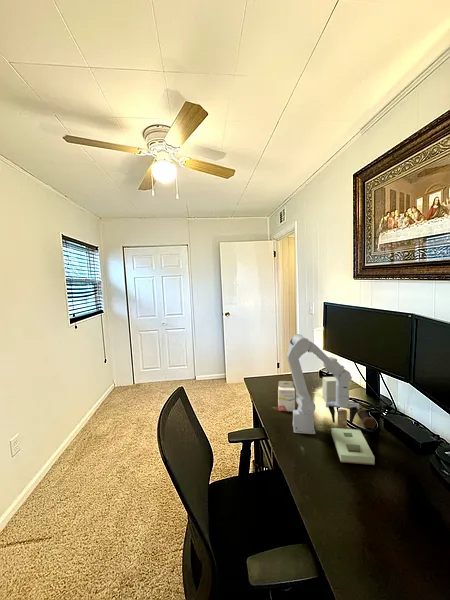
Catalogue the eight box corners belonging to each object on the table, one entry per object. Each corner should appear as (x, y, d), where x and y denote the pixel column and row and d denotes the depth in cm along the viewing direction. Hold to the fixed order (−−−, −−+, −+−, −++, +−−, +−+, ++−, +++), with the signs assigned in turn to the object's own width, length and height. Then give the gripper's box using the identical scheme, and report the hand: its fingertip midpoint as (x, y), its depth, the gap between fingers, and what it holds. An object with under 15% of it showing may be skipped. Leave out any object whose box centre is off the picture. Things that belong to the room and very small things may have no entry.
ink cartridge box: (278, 411, 157) (278, 384, 156) (278, 407, 162) (277, 380, 161) (295, 411, 156) (295, 384, 155) (294, 407, 161) (293, 381, 160)
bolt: (361, 417, 152) (371, 432, 137) (352, 412, 152) (361, 426, 137) (367, 408, 151) (378, 421, 136) (358, 402, 151) (367, 415, 137)
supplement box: (339, 403, 165) (339, 381, 163) (326, 403, 165) (326, 381, 164) (335, 397, 172) (335, 376, 171) (322, 397, 172) (322, 376, 171)
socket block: (340, 462, 113) (340, 454, 113) (331, 434, 133) (331, 428, 133) (374, 464, 111) (374, 457, 111) (359, 436, 131) (360, 429, 131)
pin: (338, 429, 137) (338, 412, 137) (336, 424, 141) (336, 408, 140) (347, 429, 137) (347, 413, 136) (345, 425, 140) (345, 409, 140)
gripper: (356, 391, 140) (356, 419, 141) (324, 390, 143) (324, 417, 144) (360, 397, 133) (360, 426, 134) (327, 396, 136) (327, 424, 137)
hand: (342, 422), depth 139 cm, fingers open, 7 cm apart
